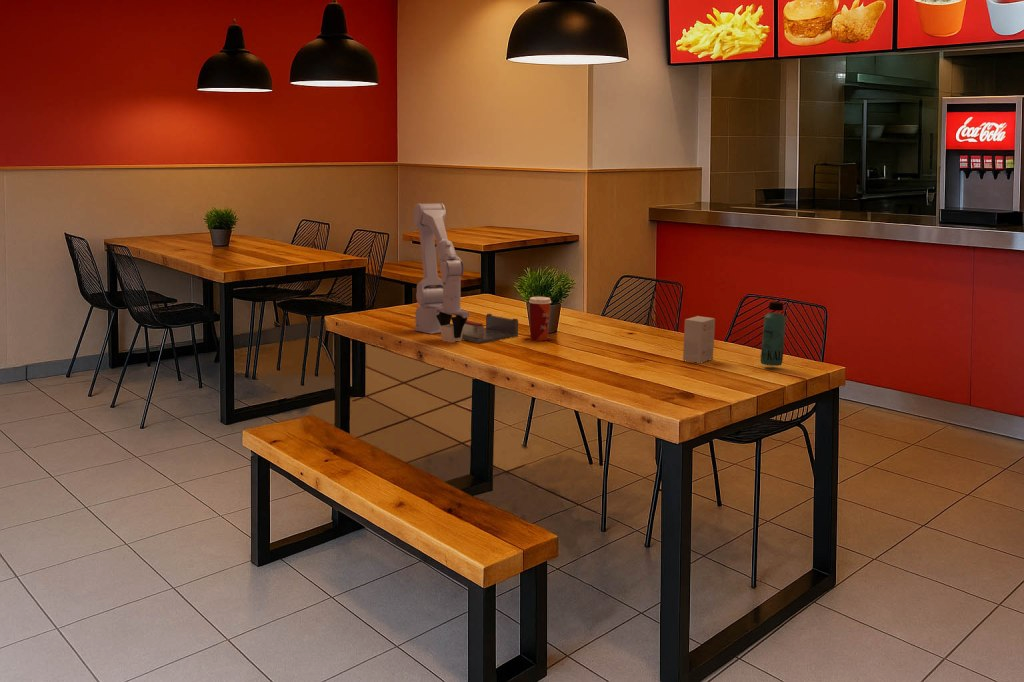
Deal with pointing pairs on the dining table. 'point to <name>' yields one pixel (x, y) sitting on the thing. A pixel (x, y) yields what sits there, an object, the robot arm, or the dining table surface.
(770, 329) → the beverage bottle
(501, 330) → the press
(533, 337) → the paper cup
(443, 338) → the block
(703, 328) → the small box
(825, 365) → the dining table surface
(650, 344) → the dining table surface
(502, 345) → the dining table surface
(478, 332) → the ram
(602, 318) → the dining table surface
